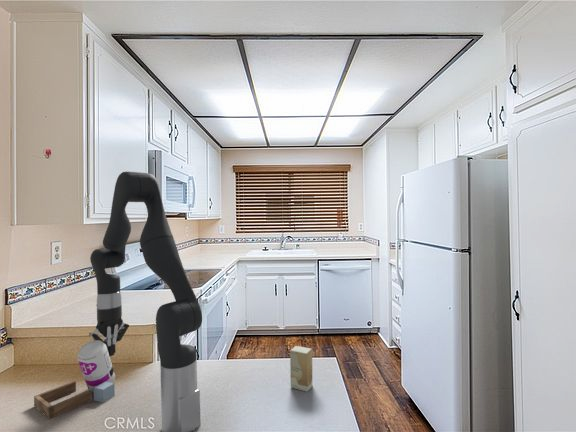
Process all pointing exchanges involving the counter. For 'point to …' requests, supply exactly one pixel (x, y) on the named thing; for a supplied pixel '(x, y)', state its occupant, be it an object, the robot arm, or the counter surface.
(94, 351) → the supplement can
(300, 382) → the skincare box
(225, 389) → the counter surface
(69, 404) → the frame
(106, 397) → the slate-blue block
